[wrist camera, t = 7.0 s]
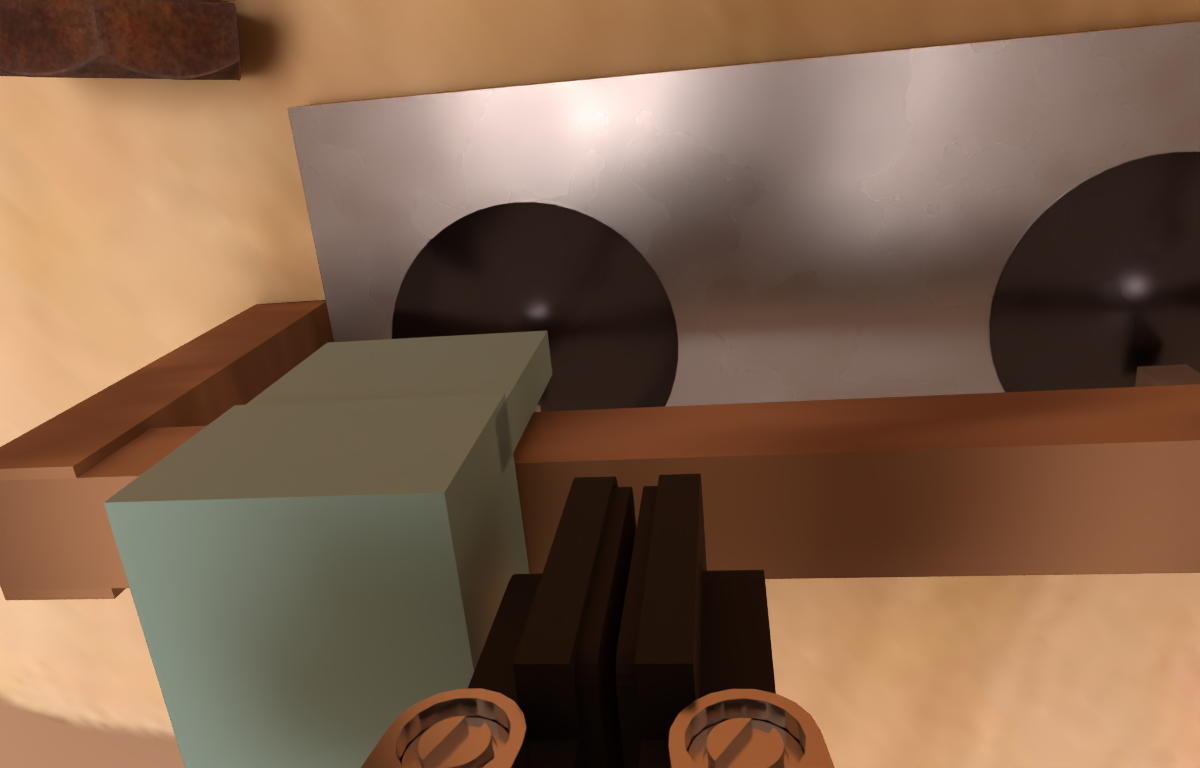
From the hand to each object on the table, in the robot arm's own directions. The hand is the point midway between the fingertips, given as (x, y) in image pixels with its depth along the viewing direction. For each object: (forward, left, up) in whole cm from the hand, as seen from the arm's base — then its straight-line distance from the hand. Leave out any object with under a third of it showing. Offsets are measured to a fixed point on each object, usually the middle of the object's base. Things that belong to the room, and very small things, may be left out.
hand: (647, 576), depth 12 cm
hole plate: (-4, 0, -11) cm, 12 cm away
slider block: (+4, 0, -10) cm, 10 cm away
